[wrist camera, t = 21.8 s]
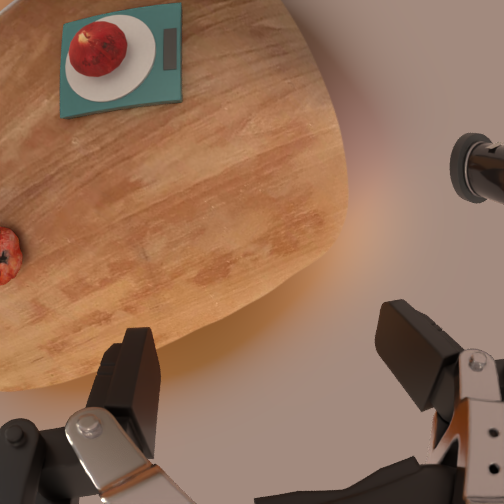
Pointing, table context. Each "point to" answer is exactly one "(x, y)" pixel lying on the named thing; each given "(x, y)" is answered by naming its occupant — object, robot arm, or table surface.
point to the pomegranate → (9, 255)
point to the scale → (128, 64)
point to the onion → (97, 49)
